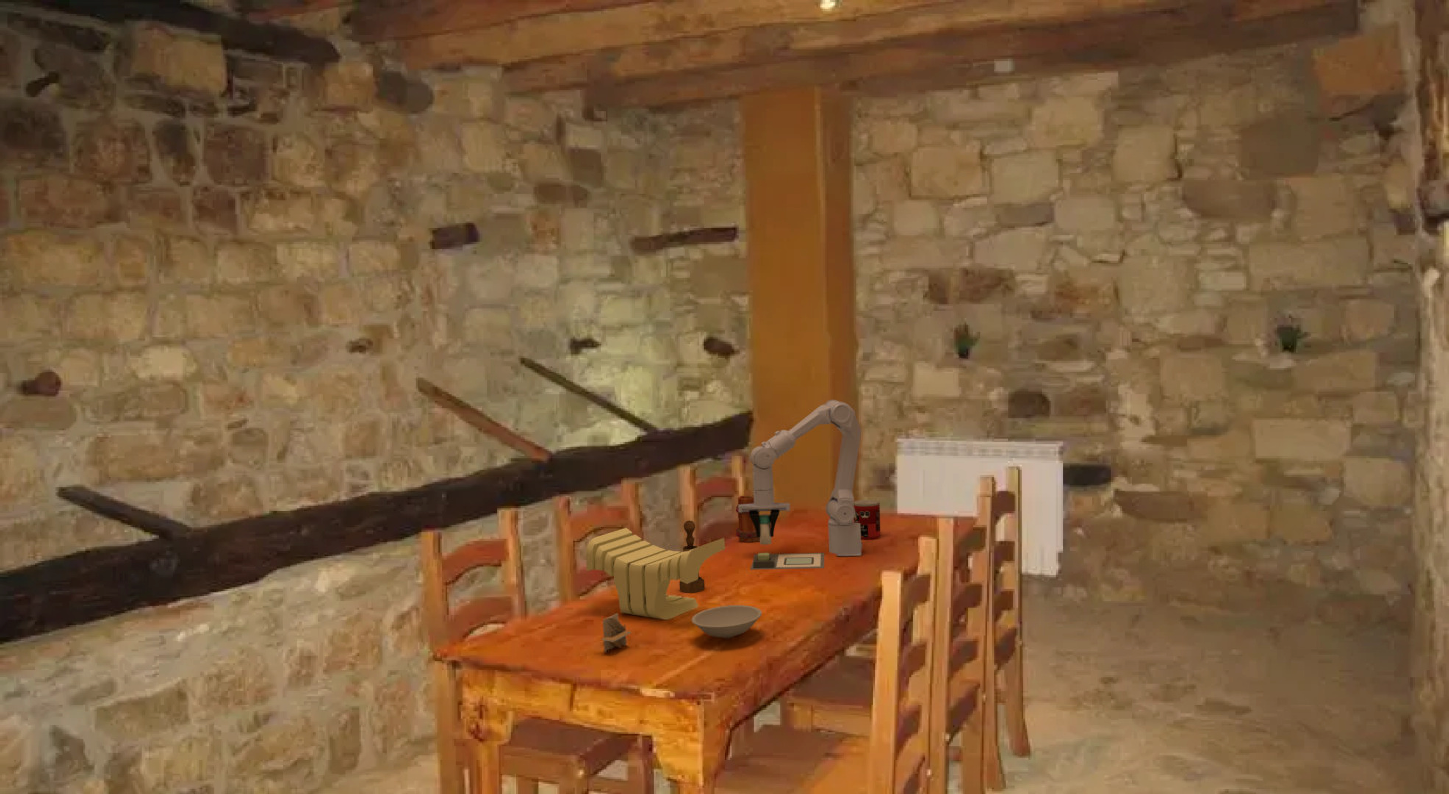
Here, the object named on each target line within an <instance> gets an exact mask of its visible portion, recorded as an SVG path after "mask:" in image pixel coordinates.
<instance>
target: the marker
mask: <svg viewBox="0 0 1449 794" xmlns="http://www.w3.org/2000/svg"><path fill="white" fill-rule="evenodd" d="M759 529H760V541H759V544H760V545H761V546H762V545H764V546H765V545H771V544H772V537H771V519H770V514H768V513H767V514H765V513H763V514H759Z"/></svg>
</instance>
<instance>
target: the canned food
mask: <svg viewBox="0 0 1449 794" xmlns="http://www.w3.org/2000/svg"><path fill="white" fill-rule="evenodd" d="M854 509H855V517H854V519H853V523H860V530H861V541H862V540H863V541H869V540H870V541H871V540H877V539H879V538H881V510H880V509H881V506H880V501H879V500H877V499H859V500H854Z"/></svg>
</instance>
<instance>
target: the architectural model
mask: <svg viewBox="0 0 1449 794" xmlns="http://www.w3.org/2000/svg"><path fill="white" fill-rule="evenodd" d="M626 627H627V626H626V625H625V624H622V623H621V622H620V620H619V612H618V613H615V614H613V615H611V616H610V615H609V617H606V618H604V619H602V629H603V637H602V638H601V641H603V647H604V648H603V649H604V650H603V651H604V652H605V653H606V652H607V650H608V651H610V650H611V649H614V648H622V646H627V636H629V635H630V634H632V631H630V630H627V629H626ZM609 649H610V650H609Z"/></svg>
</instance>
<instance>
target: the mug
mask: <svg viewBox="0 0 1449 794" xmlns="http://www.w3.org/2000/svg"><path fill="white" fill-rule="evenodd" d="M752 503H754V494H753V495H752V491H751V489H745V490H744V491H743V495H739V497H737V505H736V507H735V508H736V509H735V512H736V513H737V518H738V519H737V520H738V528H736V529H735V531H736V533H735V536H737V537H738V540H739V541H738V542H740V543H741V544H743V543H747V544H748V543H760V537H757V533H756V529H755V526H754V524H753V522H752V520H751V518H750V516H749V512H739V509H738V506H739V505H740V504H752ZM760 512H761V511H759V513H760Z"/></svg>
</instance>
